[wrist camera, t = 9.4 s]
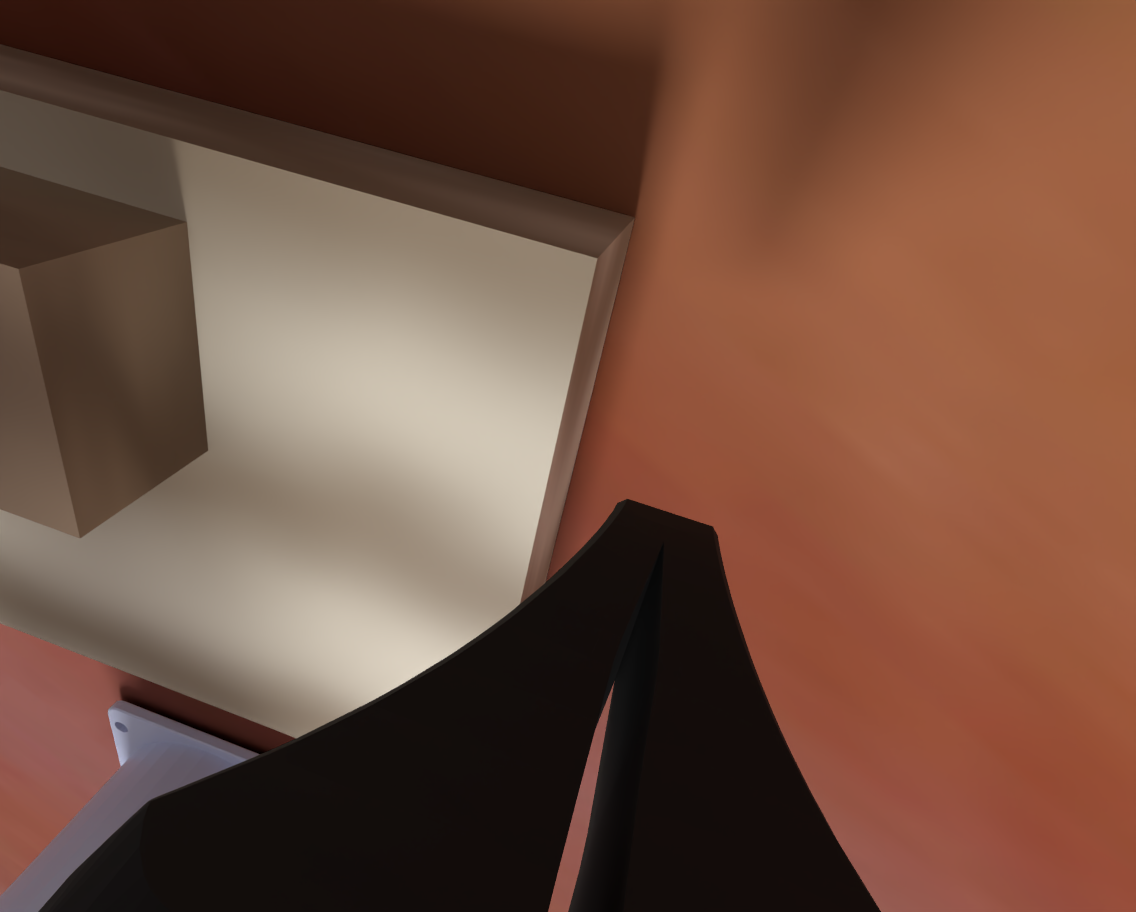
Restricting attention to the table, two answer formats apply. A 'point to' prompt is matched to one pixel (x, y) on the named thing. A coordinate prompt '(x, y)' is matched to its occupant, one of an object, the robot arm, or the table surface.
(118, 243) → the walnut block
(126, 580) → the maple board
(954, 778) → the table surface
